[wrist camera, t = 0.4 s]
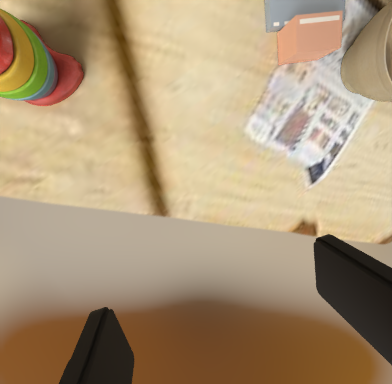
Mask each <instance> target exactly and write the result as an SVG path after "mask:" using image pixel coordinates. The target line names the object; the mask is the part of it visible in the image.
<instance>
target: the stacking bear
mask: <svg viewBox="0 0 392 384" xmlns="http://www.w3.org/2000/svg"><path fill="white" fill-rule="evenodd" d="M82 78H83V71H82V67H81V64H80V63H79V62H77V61H76V60H75V58H73V57H72V56H69V55H66V54H61V53H58V52H55V51H53V50H52V49H50V48H49V47H48V46H47V45H46V44H45V43H44V41H43V40H42V38H41V36H40V34H39V33H38V31H37V30H36V29H35V28H34V27H33V26H31V25H29V24H28V23H26V22H25V21H23V20H19V19H17V18H16V17H14V16H13V15H11V14H9V13H8V12H6V11H4V10H2V9H0V97H4V98H7V99H12V100H24V101H26V102H28V103H30V104H33V105H37V106H49V105H53V104H56V103H58V102H60V101H62V100H64V99H66V98H67V97H69V96H70V95H71V94H72V93H73V92H74V91H75V90H76V89H77V87H78V86H79V84H80V83H81V81H82Z"/></svg>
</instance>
